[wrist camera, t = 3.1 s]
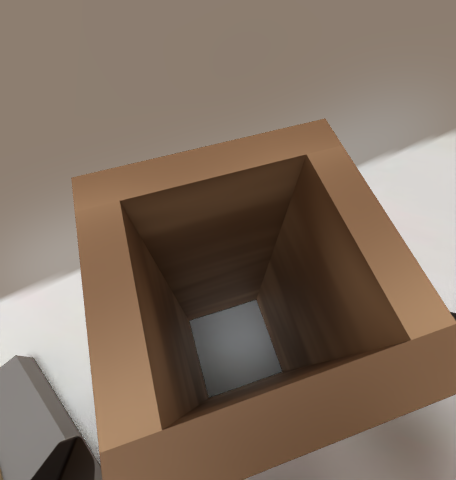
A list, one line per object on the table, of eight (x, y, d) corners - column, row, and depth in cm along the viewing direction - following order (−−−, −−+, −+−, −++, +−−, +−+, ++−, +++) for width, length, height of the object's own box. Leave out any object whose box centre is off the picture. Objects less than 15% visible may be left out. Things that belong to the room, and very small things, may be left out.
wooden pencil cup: (304, 383, 16) (493, 378, 5) (196, 423, 15) (108, 533, 4) (264, 281, 18) (325, 118, 7) (170, 310, 18) (71, 178, 6)
